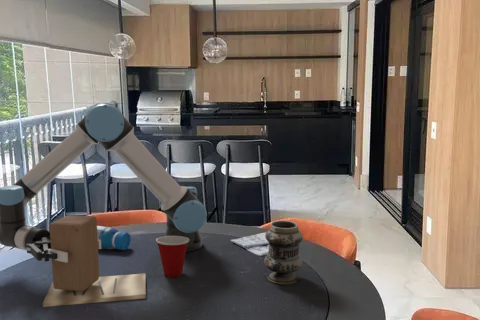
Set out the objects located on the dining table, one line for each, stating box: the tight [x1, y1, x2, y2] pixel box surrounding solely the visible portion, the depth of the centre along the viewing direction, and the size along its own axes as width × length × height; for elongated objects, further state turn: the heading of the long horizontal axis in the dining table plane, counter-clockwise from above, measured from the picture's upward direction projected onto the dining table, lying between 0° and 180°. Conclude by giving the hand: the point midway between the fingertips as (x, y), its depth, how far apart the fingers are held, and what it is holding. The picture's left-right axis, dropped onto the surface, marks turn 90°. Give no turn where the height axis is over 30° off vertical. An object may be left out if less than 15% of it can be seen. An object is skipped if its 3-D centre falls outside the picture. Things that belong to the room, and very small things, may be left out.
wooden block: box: [49, 214, 100, 291], centre depth 141 cm, size 10×10×20 cm
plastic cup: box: [155, 235, 189, 278], centre depth 156 cm, size 11×11×12 cm
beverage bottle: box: [97, 225, 132, 251], centre depth 183 cm, size 8×8×20 cm
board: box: [42, 272, 147, 308], centre depth 144 cm, size 28×16×1 cm, turn 101°
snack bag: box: [230, 231, 269, 257], centre depth 185 cm, size 19×20×2 cm
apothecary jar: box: [263, 220, 304, 285], centre depth 151 cm, size 12×12×18 cm
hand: (84, 250), depth 139 cm, fingers closed on wooden block, 12 cm apart
